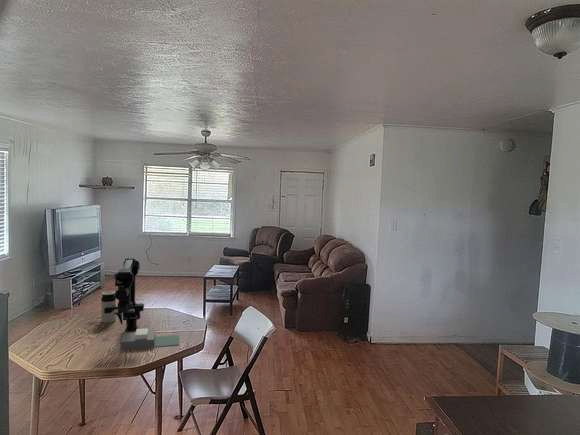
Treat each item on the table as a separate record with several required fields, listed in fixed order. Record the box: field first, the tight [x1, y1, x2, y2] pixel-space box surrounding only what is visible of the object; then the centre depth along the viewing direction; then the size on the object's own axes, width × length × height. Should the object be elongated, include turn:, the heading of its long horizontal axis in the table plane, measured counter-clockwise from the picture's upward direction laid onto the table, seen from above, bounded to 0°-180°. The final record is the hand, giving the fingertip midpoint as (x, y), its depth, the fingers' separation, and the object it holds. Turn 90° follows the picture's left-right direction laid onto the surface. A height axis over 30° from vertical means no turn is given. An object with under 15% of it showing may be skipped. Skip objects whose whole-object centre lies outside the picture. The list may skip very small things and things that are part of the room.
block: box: [135, 328, 149, 340], centre depth 202 cm, size 9×6×2 cm, turn 17°
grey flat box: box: [120, 330, 156, 351], centre depth 201 cm, size 13×16×4 cm
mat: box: [154, 334, 180, 348], centre depth 206 cm, size 14×12×1 cm
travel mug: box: [100, 290, 117, 324], centre depth 235 cm, size 8×8×18 cm
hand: (124, 324), depth 199 cm, fingers open, 2 cm apart
